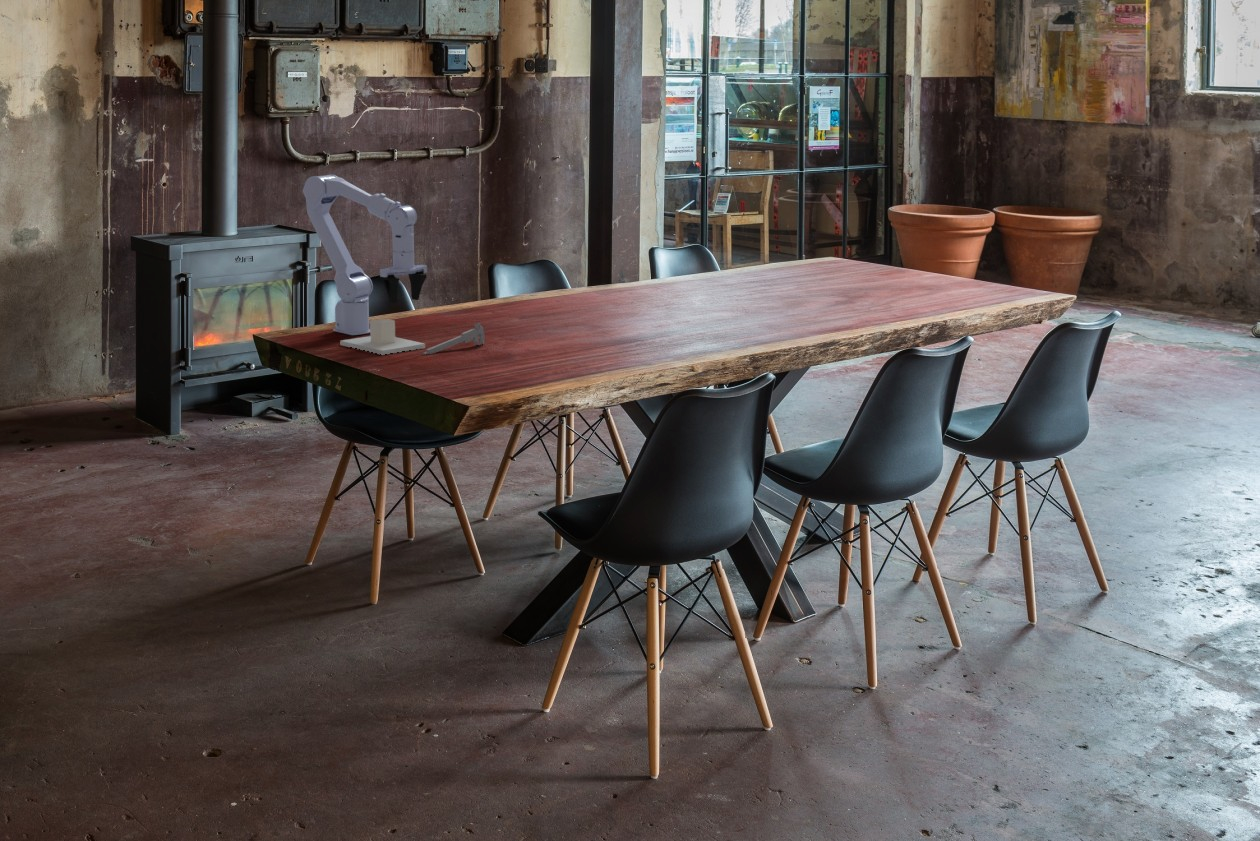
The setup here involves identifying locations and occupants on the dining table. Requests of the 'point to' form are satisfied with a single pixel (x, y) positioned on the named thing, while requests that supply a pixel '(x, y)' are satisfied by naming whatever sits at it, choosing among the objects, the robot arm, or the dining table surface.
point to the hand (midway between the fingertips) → (404, 301)
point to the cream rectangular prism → (382, 331)
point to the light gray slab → (383, 349)
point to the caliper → (460, 339)
